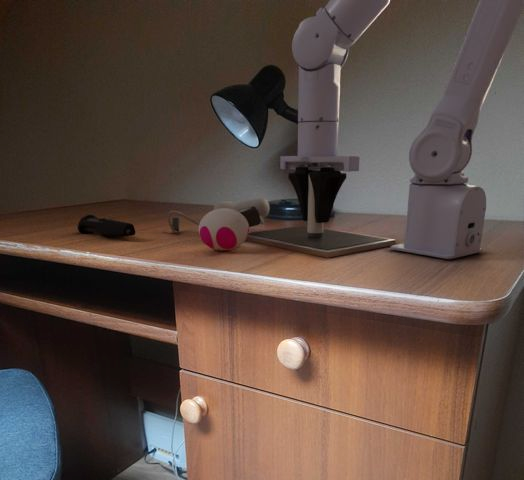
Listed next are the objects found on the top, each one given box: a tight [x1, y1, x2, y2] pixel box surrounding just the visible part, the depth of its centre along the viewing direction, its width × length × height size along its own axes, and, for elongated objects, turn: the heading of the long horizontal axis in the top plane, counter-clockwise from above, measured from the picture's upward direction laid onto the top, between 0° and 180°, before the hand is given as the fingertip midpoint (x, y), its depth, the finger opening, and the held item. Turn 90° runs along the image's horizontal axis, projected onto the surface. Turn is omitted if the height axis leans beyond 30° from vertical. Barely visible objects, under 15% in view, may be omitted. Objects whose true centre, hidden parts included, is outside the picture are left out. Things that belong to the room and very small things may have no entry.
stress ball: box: [197, 208, 250, 254], centre depth 70 cm, size 8×8×7 cm
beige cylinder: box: [307, 177, 325, 237], centre depth 74 cm, size 2×2×9 cm
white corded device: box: [167, 196, 271, 234], centre depth 84 cm, size 12×6×18 cm
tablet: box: [245, 225, 397, 259], centre depth 76 cm, size 20×14×1 cm
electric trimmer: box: [77, 214, 136, 238], centre depth 83 cm, size 4×16×3 cm, turn 45°
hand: (315, 221), depth 75 cm, fingers closed on beige cylinder, 2 cm apart
